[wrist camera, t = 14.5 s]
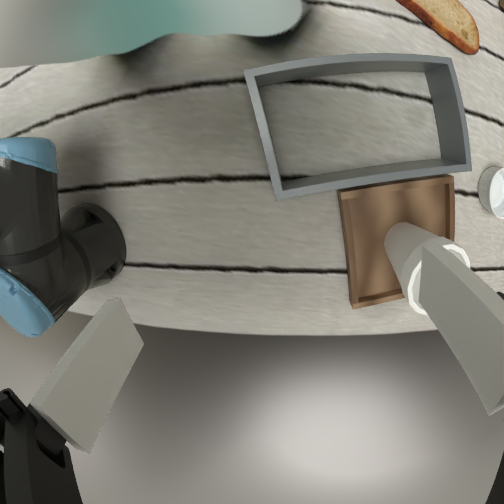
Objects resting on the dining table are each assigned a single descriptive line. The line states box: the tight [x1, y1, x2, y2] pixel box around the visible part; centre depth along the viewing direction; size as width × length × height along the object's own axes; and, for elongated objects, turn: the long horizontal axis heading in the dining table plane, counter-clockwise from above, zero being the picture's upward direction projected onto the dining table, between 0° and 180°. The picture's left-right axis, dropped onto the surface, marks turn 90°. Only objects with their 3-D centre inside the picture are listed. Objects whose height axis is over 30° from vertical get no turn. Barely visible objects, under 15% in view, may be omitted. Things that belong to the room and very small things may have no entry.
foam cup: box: [384, 222, 470, 315], centre depth 32 cm, size 10×9×13 cm
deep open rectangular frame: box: [244, 53, 472, 201], centre depth 30 cm, size 28×16×7 cm, turn 104°
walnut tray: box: [337, 174, 455, 309], centre depth 38 cm, size 19×19×2 cm
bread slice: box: [396, 0, 479, 54], centre depth 21 cm, size 18×18×4 cm
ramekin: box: [478, 167, 504, 219], centre depth 31 cm, size 9×9×4 cm
